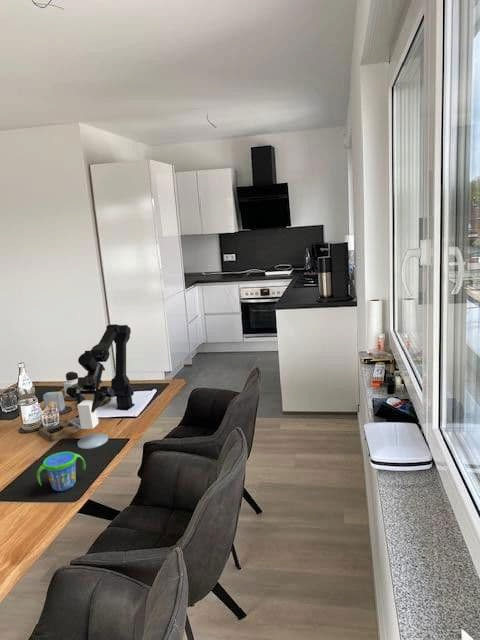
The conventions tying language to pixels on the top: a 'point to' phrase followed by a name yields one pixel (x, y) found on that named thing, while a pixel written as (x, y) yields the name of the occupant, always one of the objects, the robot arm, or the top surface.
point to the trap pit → (77, 422)
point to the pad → (92, 441)
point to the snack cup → (61, 470)
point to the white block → (87, 415)
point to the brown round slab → (91, 397)
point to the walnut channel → (59, 434)
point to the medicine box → (54, 399)
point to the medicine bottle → (71, 381)
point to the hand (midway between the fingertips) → (85, 412)
